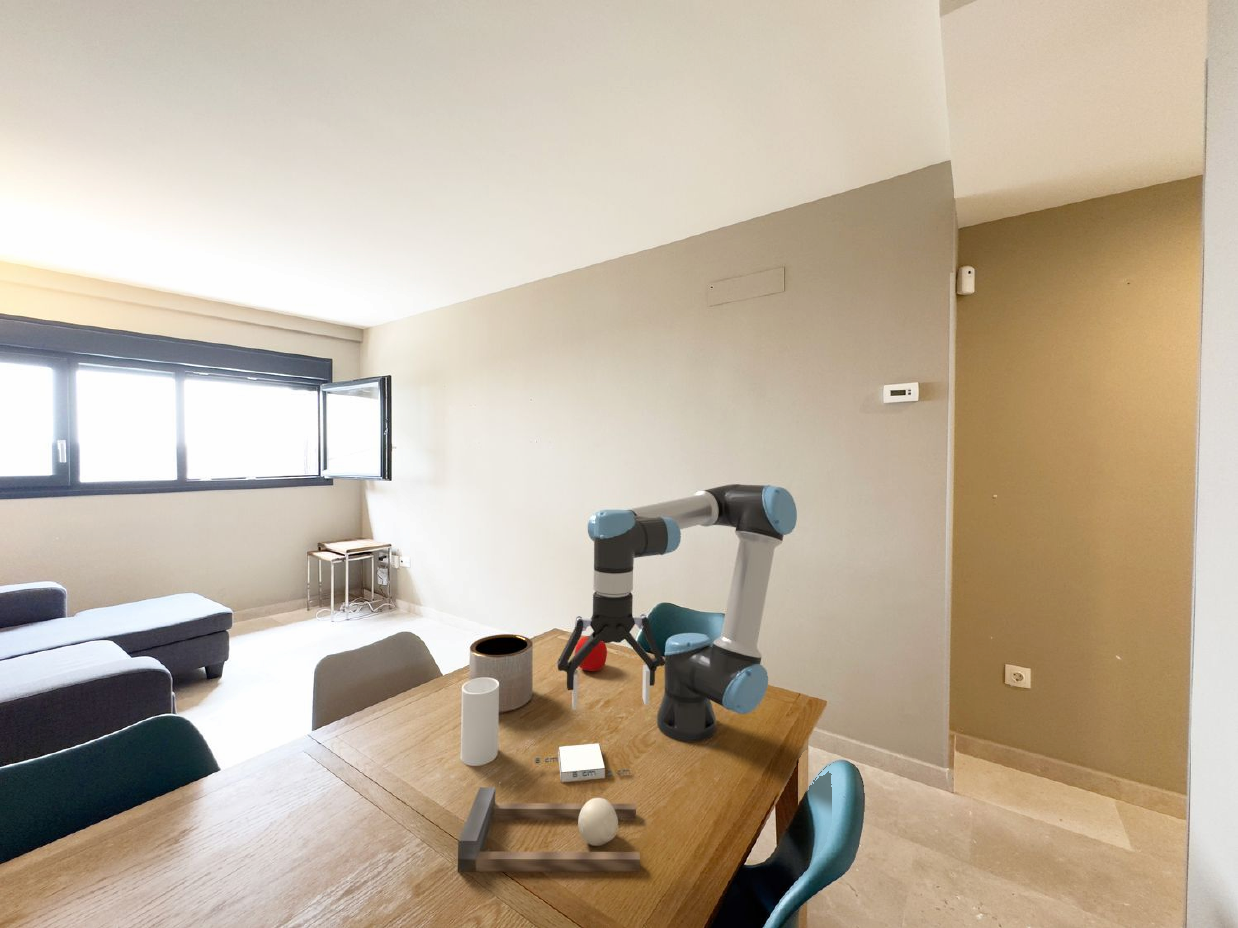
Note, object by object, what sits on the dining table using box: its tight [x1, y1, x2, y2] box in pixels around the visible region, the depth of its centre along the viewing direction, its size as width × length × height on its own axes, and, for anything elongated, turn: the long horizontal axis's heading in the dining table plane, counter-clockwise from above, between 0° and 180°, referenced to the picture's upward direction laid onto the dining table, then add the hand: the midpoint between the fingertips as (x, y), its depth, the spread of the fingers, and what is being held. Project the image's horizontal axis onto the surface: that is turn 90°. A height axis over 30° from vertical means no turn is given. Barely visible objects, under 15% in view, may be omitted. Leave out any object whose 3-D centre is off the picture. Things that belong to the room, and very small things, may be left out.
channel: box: [457, 786, 641, 872], centre depth 85 cm, size 30×13×5 cm, turn 91°
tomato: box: [574, 635, 608, 672], centre depth 157 cm, size 10×11×11 cm
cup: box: [460, 678, 500, 767], centre depth 110 cm, size 8×8×16 cm
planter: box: [468, 633, 534, 714], centre depth 136 cm, size 18×18×16 cm
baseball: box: [577, 797, 619, 847], centre depth 85 cm, size 7×7×7 cm
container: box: [534, 742, 631, 783], centre depth 105 cm, size 20×11×3 cm, turn 100°
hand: (610, 704), depth 90 cm, fingers open, 13 cm apart
